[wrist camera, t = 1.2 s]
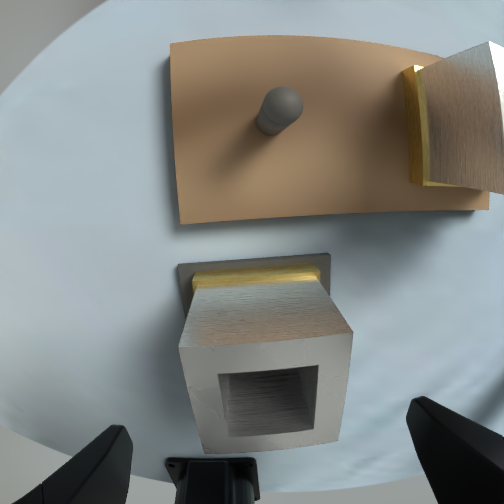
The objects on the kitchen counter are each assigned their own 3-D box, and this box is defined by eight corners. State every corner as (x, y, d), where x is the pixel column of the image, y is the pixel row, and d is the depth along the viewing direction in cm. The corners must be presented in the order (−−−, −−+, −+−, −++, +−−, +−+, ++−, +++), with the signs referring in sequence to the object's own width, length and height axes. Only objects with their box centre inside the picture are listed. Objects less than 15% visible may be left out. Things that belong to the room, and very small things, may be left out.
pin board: (477, 207, 14) (541, 225, 9) (184, 220, 14) (157, 250, 9) (469, 72, 12) (529, 56, 7) (174, 51, 12) (145, 1, 7)
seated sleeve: (486, 186, 13) (569, 204, 7) (409, 183, 13) (500, 201, 7) (480, 89, 11) (560, 76, 6) (401, 71, 11) (483, 34, 6)
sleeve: (312, 359, 16) (342, 443, 10) (209, 368, 16) (200, 456, 10) (313, 262, 14) (360, 325, 8) (195, 271, 14) (169, 341, 8)
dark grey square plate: (324, 366, 16) (331, 384, 15) (198, 377, 16) (195, 395, 15) (328, 252, 15) (338, 263, 13) (179, 263, 14) (172, 275, 13)
